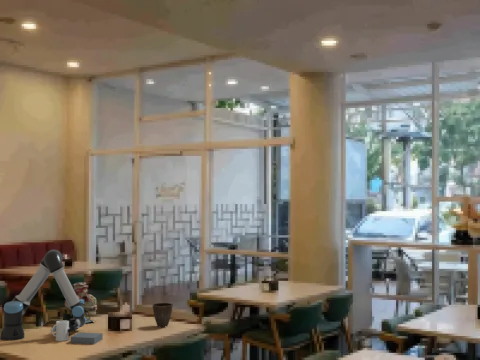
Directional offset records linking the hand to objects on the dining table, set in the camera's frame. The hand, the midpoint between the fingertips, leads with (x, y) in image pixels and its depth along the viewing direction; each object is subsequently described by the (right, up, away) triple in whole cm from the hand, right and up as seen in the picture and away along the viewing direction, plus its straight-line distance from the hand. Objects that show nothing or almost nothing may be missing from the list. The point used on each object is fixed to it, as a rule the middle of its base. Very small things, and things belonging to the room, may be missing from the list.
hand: (58, 331), depth 380 cm
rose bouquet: (-4, -10, +69) cm, 70 cm away
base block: (+18, -7, +2) cm, 20 cm away
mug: (0, -7, +4) cm, 8 cm away
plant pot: (+61, -10, +53) cm, 81 cm away
